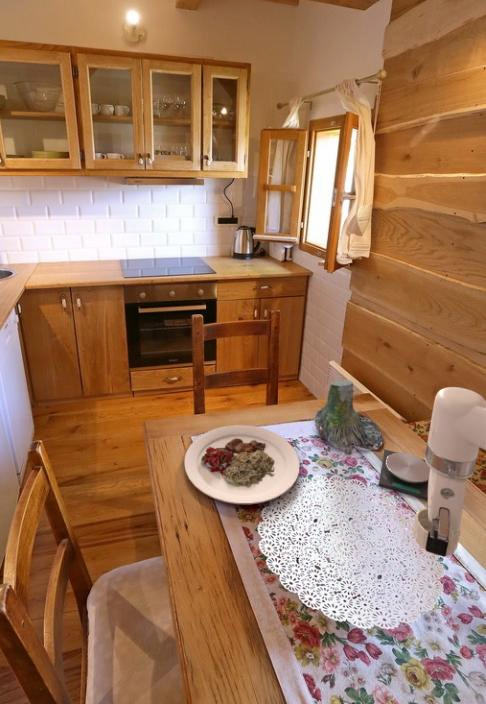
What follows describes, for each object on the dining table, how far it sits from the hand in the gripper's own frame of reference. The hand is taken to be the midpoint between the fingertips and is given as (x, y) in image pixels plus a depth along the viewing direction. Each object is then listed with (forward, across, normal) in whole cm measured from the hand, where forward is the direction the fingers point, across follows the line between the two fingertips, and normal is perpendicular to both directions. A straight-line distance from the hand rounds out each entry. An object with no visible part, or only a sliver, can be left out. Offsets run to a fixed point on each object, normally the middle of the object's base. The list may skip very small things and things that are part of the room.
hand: (434, 534), depth 76 cm
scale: (+9, +25, +5) cm, 27 cm away
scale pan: (+6, +25, +5) cm, 26 cm away
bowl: (+1, 0, 0) cm, 1 cm away
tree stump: (+8, +38, +22) cm, 45 cm away
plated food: (+8, +12, +44) cm, 47 cm away
